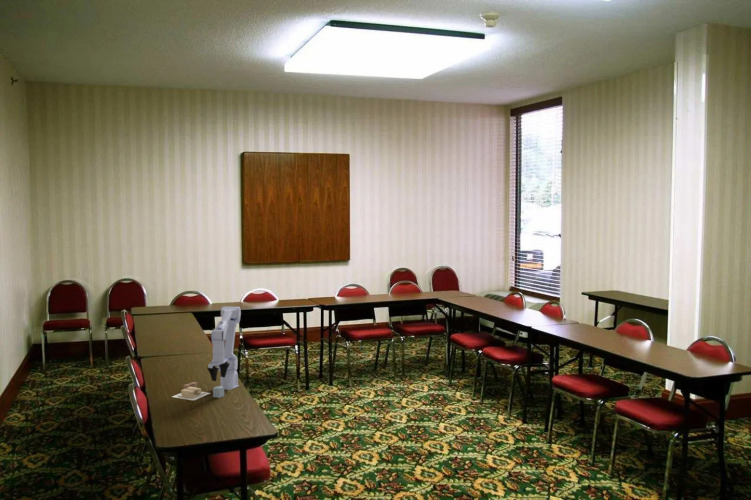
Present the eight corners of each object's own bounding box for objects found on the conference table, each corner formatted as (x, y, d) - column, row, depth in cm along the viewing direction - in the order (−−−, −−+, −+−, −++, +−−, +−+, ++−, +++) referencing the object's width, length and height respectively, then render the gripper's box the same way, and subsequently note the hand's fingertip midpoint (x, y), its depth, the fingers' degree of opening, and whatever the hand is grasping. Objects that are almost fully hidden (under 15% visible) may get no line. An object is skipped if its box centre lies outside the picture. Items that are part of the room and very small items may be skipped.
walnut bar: (192, 387, 344) (193, 382, 344) (197, 388, 343) (197, 382, 343) (183, 390, 336) (183, 384, 336) (187, 391, 335) (188, 385, 335)
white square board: (189, 390, 339) (189, 389, 339) (211, 393, 333) (211, 392, 333) (171, 397, 326) (171, 396, 326) (193, 400, 320) (193, 400, 320)
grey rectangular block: (217, 395, 330) (217, 386, 330) (224, 396, 329) (224, 387, 329) (213, 397, 327) (213, 388, 326) (219, 398, 325) (219, 388, 325)
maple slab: (190, 392, 334) (190, 386, 334) (201, 394, 331) (201, 388, 331) (181, 395, 328) (181, 390, 327) (192, 397, 325) (192, 391, 325)
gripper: (220, 349, 335) (220, 374, 335) (203, 354, 321) (203, 381, 322) (232, 350, 332) (231, 376, 333) (214, 356, 318) (214, 383, 319)
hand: (218, 378), depth 327 cm, fingers open, 7 cm apart
